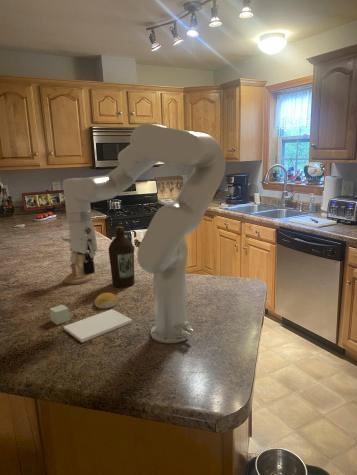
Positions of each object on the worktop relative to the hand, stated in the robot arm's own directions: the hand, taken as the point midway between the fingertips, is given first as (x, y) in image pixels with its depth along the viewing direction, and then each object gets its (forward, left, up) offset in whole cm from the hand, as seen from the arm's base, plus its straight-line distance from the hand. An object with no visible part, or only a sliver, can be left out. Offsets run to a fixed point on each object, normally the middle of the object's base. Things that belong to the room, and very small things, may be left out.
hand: (85, 271), depth 115 cm
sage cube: (+6, +8, -17) cm, 20 cm away
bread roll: (+7, -11, -17) cm, 21 cm away
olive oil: (+20, -27, -17) cm, 38 cm away
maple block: (0, 0, -1) cm, 1 cm away
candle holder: (+40, -16, -17) cm, 46 cm away
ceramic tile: (-7, +1, -17) cm, 18 cm away
